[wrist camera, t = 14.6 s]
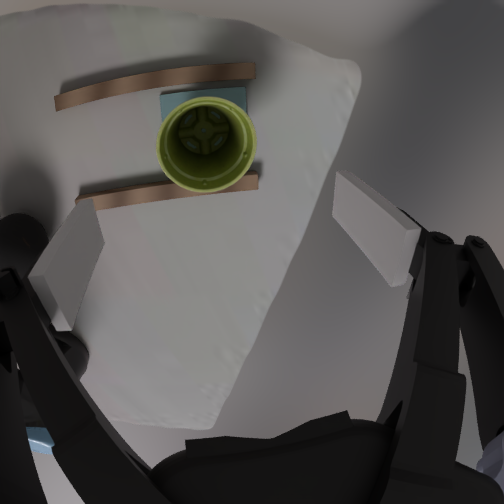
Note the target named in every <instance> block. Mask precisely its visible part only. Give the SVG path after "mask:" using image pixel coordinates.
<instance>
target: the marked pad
mask: <svg viewBox="0 0 504 504" xmlns="http://www.w3.org/2000/svg"><path fill="white" fill-rule="evenodd" d="M205 96H211V97H219V98H223V99H226V100H229V101H231V102H233V103H235V104H236V105H238V106H239V107H240V108H241V109H243V110H244V111H245V112H246V87H232V88H218V89H206V90H196V91H187V92H179V93H171V94H164V95H160V105H161V115H162V123H163V121H164V119H165V118H166V117H167V115H168V114H169V113H170V112H171V111H172V110H173V109H174V108H176V107H177V106H178V105H180V104H182V103H183V102H185V101H187V100H190V99H193V98H197V97H205ZM211 113H212V114H214V115H215V116H216V117H217V118H218V119H220V116H219V115H218V114H217V113H215V112H211ZM191 117H192V115H189V116H188V117H187V118H186V120H185V124H186V123H187V122H188V120H189V119H190V118H191ZM201 131H202V132H203V133H204V132H206V130H205V129H204V128H203V129H202V130H201ZM221 141H222V137H220V138H219V140H218V141H217V142H216V143H215V144H214V145H218V144H219V143H220V142H221ZM187 144H188V145H189V146H191V147H193V148H194V149H195V148H196V146H194V145H192V144H191V143H190V142H189V141H188V142H187Z"/></svg>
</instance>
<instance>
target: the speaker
mask: <svg viewBox="0 0 504 504" xmlns="http://www.w3.org/2000/svg"><path fill="white" fill-rule="evenodd" d="M48 244H49V241H48V237H47V234H46V232H45V230H44V228H43V227H42V225H41V224H40V223H39V222H38V221H37V220H36V219H34V218H33V217H31V216H29V215H26V214H20V213H17V214H11V215H8V216H6V217H4V218H3V219H1V220H0V270H1V269H3V268H5V267H8V266H14V267H15V268H16V270H17V272H18V274H19V276H20V278H21V280H22V279H23V277H24V275H25V274H26V272H27V270H28V269H29V267H30V266H31V264H32V263H33V261H34V259H35V258H36V256H37V255H38V254H39V253H40V252H41V251H42V250H43V249H45V248H46V247H47V245H48Z"/></svg>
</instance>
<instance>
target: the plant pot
mask: <svg viewBox="0 0 504 504" xmlns="http://www.w3.org/2000/svg"><path fill="white" fill-rule="evenodd" d="M211 112H215V113H217V114H218V115H219V116H220V119H218V118H217V117H216V116H215V115H214V114H212V113H211ZM189 115H192V117H191V118H190V119H189V120H188V122H187V123H186V124H185V120H186V118H187V117H188V116H189ZM203 128H204V129H205V130H206V132H204V133H203V132H202V131H201V130H202V129H203ZM220 137H222V141H221V142H220V143H219V144H218V145H214V144H215V143H216V142H217V141H218V140H219V138H220ZM188 141H189V142H190V143H191V144H192V145H194V146H196V148H195V149H194V148H193V147H191V146H189V145H188V144H187V142H188ZM256 146H257V137H256V131H255V128H254V125H253V123H252V121H251V119H250V118H249V116H248V115H247V114H246V112H245V111H244V110H243V109H241V108H240V107H239V106H238V105H236V104H235V103H233V102H231V101H229V100H226V99H223V98H219V97H211V96H205V97H197V98H193V99H190V100H187V101H185V102H183V103H182V104H180V105H178V106H177V107H176V108H174V109H173V110H172V111H171V112H170V113H169V114H168V115H167V117H166V118H165V119H164V121H163V123H162V124H161V126H160V129H159V132H158V135H157V141H156V152H157V158H158V161H159V164H160V166H161V168H162V170H163V171H164V173H165V174H166V175H167V176H168V177H169V179H171V180H172V181H173V182H174V183H176V184H177V185H179V186H180V187H182V188H185V189H187V190H190V191H194V192H215V191H219V190H222V189H225V188H227V187H229V186H231V185H233V184H234V183H236V182H237V181H238V180H239V179H240V178H241V177H242V176H243V175H244V174H245V173H246V172H247V170H248V169H249V167H250V165H251V164H252V162H253V159H254V156H255V153H256Z"/></svg>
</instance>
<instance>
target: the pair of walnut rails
mask: <svg viewBox="0 0 504 504" xmlns="http://www.w3.org/2000/svg"><path fill="white" fill-rule="evenodd" d="M236 79H256V78H255V63H228V64H213V65H201V66H191V67H182V68H174V69H167V70H160V71H154V72H148V73H143V74H137V75H132V76H127V77H122V78H118V79H113V80H109V81H105V82H101V83H97V84H93V85H90V86H86V87H82V88H79V89H75V90H72V91H69V92H66V93H63V94H60V95H56V96H54V100H55V108H56V111H59V110H63V109H66V108H69V107H73V106H76V105H80V104H83V103H87V102H91V101H95V100H99V99H103V98H107V97H111V96H116V95H120V94H125V93H130V92H135V91H140V90H146V89H152V88H158V87H165V86H172V85H179V84H187V83H197V82H207V81H219V80H236ZM257 189H258V174H257V172H256V171H249V172H246V173H245V174H244V175H243V176H242V177H241V178H240V179H239V180H238V181H237V182H236V183H234V184H233V185H231V186H229V187H227V188H225V189H222V190H219V191H215V192H194V191H190V190H187V189H185V188H182V187H180V186H179V185H177V184H176V183H174V182H173V181H172V180H168V181H160V182H154V183H147V184H141V185H134V186H128V187H122V188H117V189H111V190H105V191H100V192H95V193H90V194H85V195H80V196H78V197H77V198H76V199H75V203H76V205H77V203H78V202H79V201H80V200H85V199H90V198H92V200H93V203H94V207H95V211H97V210H103V209H109V208H115V207H121V206H127V205H133V204H140V203H147V202H154V201H161V200H168V199H175V198H183V197H191V196H199V195H208V194H217V193H226V192H236V191H246V190H257Z"/></svg>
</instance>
